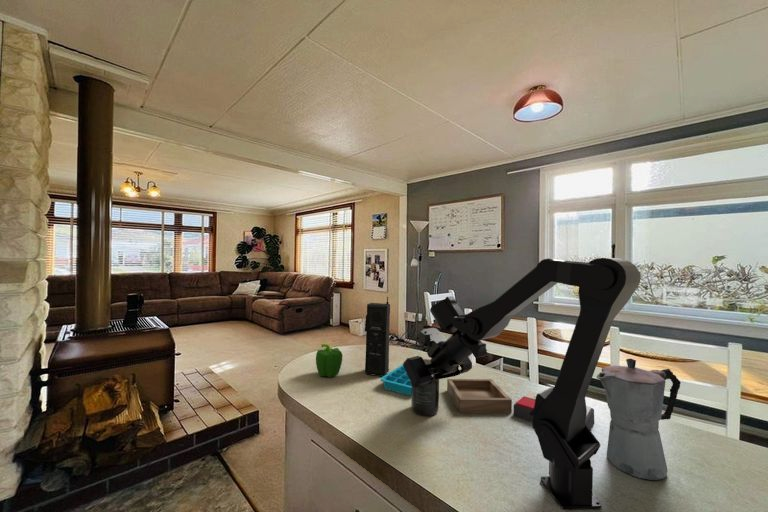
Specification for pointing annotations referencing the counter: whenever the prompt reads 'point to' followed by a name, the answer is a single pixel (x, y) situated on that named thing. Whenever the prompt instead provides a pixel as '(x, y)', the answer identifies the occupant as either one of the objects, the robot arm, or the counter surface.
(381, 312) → the portable radio
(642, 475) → the moka pot
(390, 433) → the counter surface
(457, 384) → the holder
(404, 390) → the ice cube tray
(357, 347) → the counter surface
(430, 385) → the supplement bottle
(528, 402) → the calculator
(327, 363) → the bell pepper
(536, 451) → the counter surface
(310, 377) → the counter surface
